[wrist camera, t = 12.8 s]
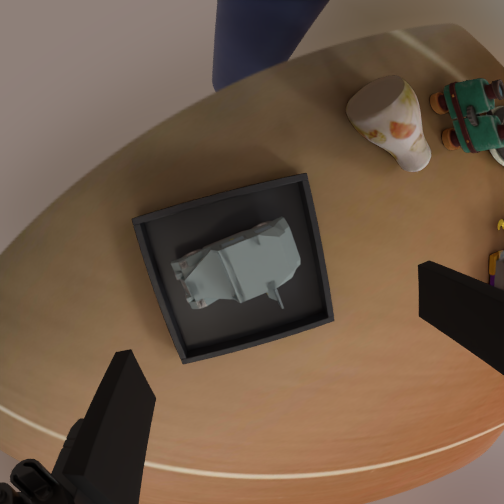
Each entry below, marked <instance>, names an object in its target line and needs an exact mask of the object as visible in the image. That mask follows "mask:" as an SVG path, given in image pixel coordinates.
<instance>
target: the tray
mask: <svg viewBox="0 0 504 504" xmlns="http://www.w3.org/2000/svg"><path fill="white" fill-rule="evenodd" d="M280 217H284V218H285V220H286V222H287V224H288V225H289V227H290V230H291V233H292V236H293V239H294V241H295V244H296V247H297V250H298V253H299V256H300V265H299V266H298V267H297V268H296V271H295V273H294V275H293V277H292V278H291V279H290V280H288V281H287V282H285V283H284V284H282V285H281V286H279V287H278V288H277V290H278V293H279V296H280V298H281V301H282V304H283V306H284V308H283V309H282V308H281V306H280V305H279V303H278V301H276V300H274V299H271V298H269V296H268V294H267V292H266V293H264V294H261V295H259V296H257V297H254V298H252V299H249V300H247V301H244V302H242V303H239V302H237V301H236V300H234V299H218V300H216V301H215V302H213V303H211V304H210V305H208V306H206V307H203V308H201V309H192V308H191V306H190V304H189V303H188V302H187V300H186V297H185V295H186V292H185V289H184V287H183V285H182V283H181V281H180V279H179V280H177V279H176V277H175V273H174V270H173V268H172V265H171V262H172V261H175V260H177V259H179V258H182V257H183V256H184V255H186V254H187V253H189V252H192V251H194V250H198V249H203V247H205V246H207V245H210V244H212V243H214V242H217V241H219V240H222V239H224V238H227V237H229V236H231V235H234V234H236V233H239V232H241V231H245V230H249V229H252V228H253V227H254V226H256V225H258V224H260V223H263V222H266V221H273V220H275V219H277V218H280ZM132 222H133V225H134V229H135V233H136V236H137V240H138V243H139V246H140V250H141V253H142V256H143V259H144V262H145V265H146V268H147V271H148V275H149V278H150V280H151V283H152V286H153V289H154V292H155V295H156V298H157V300H158V303H159V306H160V309H161V311H162V314H163V317H164V319H165V322H166V325H167V327H168V330H169V332H170V335H171V337H172V340H173V342H174V345H175V347H176V350H177V352H178V354H179V357H180V359H181V361H182V364H187V363H191V362H196V361H200V360H204V359H208V358H212V357H216V356H220V355H224V354H228V353H232V352H236V351H239V350H243V349H247V348H250V347H254V346H257V345H261V344H264V343H268V342H271V341H274V340H278V339H281V338H284V337H287V336H291V335H294V334H297V333H300V332H303V331H306V330H309V329H312V328H315V327H318V326H321V325H324V324H327V323H330V322H332V321H334V314H333V307H332V301H331V294H330V288H329V282H328V276H327V270H326V264H325V259H324V253H323V248H322V242H321V237H320V232H319V227H318V222H317V217H316V212H315V208H314V203H313V198H312V194H311V189H310V185H309V181H308V176H307V173H303V174H298V175H293V176H289V177H284V178H280V179H275V180H271V181H267V182H262V183H258V184H254V185H250V186H246V187H242V188H238V189H234V190H230V191H226V192H222V193H218V194H215V195H211V196H207V197H203V198H200V199H196V200H192V201H189V202H185V203H182V204H178V205H175V206H171V207H168V208H165V209H161V210H158V211H155V212H151V213H148V214H145V215H142V216H138V217H135V218H132Z"/></svg>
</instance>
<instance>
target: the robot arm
mask: <svg viewBox="0 0 504 504" xmlns="http://www.w3.org/2000/svg"><path fill="white" fill-rule="evenodd" d="M418 279H419V317H421V318H422V319H424V320H425V321H427V322H428V323H430V324H431V325H432V326H434V327H435V328H437V329H438V330H440V331H441V332H443V333H444V334H446V335H447V336H449V337H450V338H452V339H453V340H455V341H456V342H457V343H459V344H460V345H462V346H463V347H465V348H466V349H468V350H469V351H470V352H472V353H473V354H475V355H476V356H478V357H479V358H480V359H482V360H483V361H485V362H486V363H487V364H489V365H490V366H492V367H493V368H494V369H496V370H497V371H498V372H500V373H501V374H503V375H504V290H503V289H498V288H496V287H494V286H491V285H489V284H487V283H484V282H482V281H479V280H477V279H475V278H472V277H470V276H467V275H465V274H462V273H460V272H457V271H455V270H452V269H450V268H447V267H445V266H442V265H440V264H437V263H435V262H432V261H427V262H424V263H422V264H419V265H418ZM155 401H156V397H155V395H154V393H153V391H152V390H151V388H150V386H149V384H148V382H147V380H146V378H145V376H144V374H143V372H142V370H141V368H140V366H139V364H138V362H137V360H136V358H135V356H134V354H133V352H132V350H131V349H130V350H125V351H120V352H116V353H115V355H114V357H113V359H112V361H111V363H110V365H109V367H108V369H107V371H106V373H105V375H104V377H103V379H102V381H101V383H100V385H99V387H98V389H97V391H96V394H95V396H94V398H93V400H92V402H91V404H90V407H89V409H88V411H87V413H86V415H85V418H84V419H79V420H78V421H77V422H76V423H75V424H74V425H73V426H72V428H71V429H70V432H69V434H68V436H67V440H65V443H64V445H63V448H62V449H61V452H60V454H59V456H58V459H57V461H56V464H55V466H54V468H53V471H52V473H51V474H50V473H49V472H48V471H47V470H46V469H45V468H44V466H43V465H42V464H41V463H40V462H39V461H37V460H35V459H26V460H23V461H21V462H20V463H18V464H17V465H16V466H15V468H14V469H13V470H12V473H11V475H10V481H11V483H12V484H13V485H14V486H15V487H17V488H18V489H19V490H20V491H21V492H16V491H15V490H14V489H13V488H12V487H11V486H10V485H8V484H6V483H0V504H139V496H140V489H141V482H142V475H143V468H144V462H145V456H146V450H147V444H148V438H149V433H150V427H151V422H152V417H153V411H154V406H155Z"/></svg>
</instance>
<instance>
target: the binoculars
mask: <svg viewBox="0 0 504 504" xmlns="http://www.w3.org/2000/svg"><path fill="white" fill-rule="evenodd" d="M496 98H498V99H499V100H502V99H504V85H503V82H502V80H496V81H492V84H489V83H488V82H487V80H486V79H483V78H478V79H473V80H466V81H463V82H454V83H451V84H449V85H447V86H445V87H444V94H443V93H440V92H439V93H435V94H433V95H431V97H430V104H431V107H432V108H433V110H434V111H435V112H436V113H438V114H445V113H448V112H449V113H450V116H451V118H452V119H456V118H458V120H453V125H454V128H449V129H445V130H444V131H443V134H442V140H443V143H444V145H445V147H446V148H447V149H449V150H456V149H459V148H460V146H461V147H462V149H463V150H464V152H466V153H469V152H471V153H478V152H480V151H484V150H490V149H497V148H502V147H504V124H501V122H500V120H499V118H498V117H497V116H496V115H493V113H492V109H494V108H495V102H494V99H496ZM484 112H486V113H487V115H482V116H480V115H479V114H480V113H484ZM463 117H466V118H463Z"/></svg>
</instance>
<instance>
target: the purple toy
mask: <svg viewBox="0 0 504 504" xmlns="http://www.w3.org/2000/svg"><path fill="white" fill-rule="evenodd" d="M500 226H502V228H503V229H504V221H503V220H502V219H501V220H500V221H499V222H498V230H499V229H500ZM489 274H490V275H491V276H490V284H489V285H491V286H494V287H496V288H498V289H503V290H504V250H502V251H498V252H496V253H494V254H492V255H490V262H489Z"/></svg>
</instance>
